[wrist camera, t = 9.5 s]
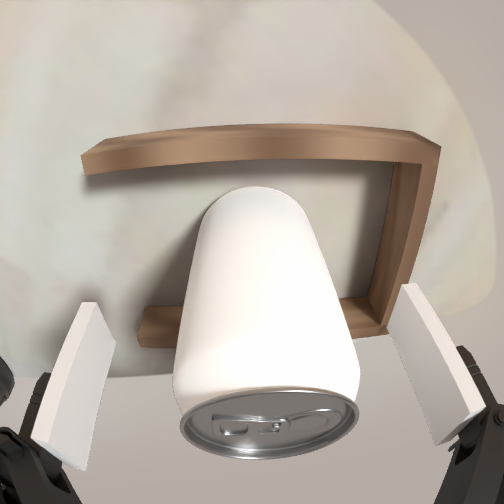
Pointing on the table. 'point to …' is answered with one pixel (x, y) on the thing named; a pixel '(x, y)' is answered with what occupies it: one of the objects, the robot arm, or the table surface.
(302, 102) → the table surface
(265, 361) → the can
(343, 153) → the open wooden frame
